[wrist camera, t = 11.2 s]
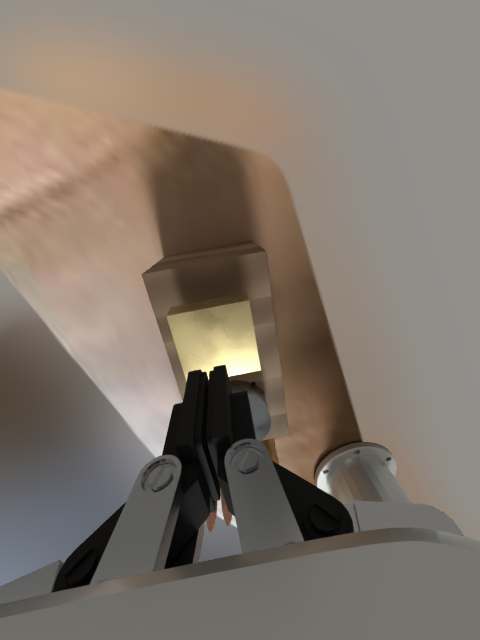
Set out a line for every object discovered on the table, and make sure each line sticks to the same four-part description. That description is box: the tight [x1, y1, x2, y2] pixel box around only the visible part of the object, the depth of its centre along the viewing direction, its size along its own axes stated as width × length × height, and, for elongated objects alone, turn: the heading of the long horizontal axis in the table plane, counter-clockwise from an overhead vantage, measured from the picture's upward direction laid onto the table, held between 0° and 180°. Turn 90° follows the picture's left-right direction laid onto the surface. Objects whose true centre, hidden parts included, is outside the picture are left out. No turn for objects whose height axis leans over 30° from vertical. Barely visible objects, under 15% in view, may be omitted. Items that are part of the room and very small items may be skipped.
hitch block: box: [142, 241, 289, 441], centre depth 25 cm, size 18×9×8 cm, turn 10°
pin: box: [230, 380, 271, 442], centre depth 25 cm, size 5×5×10 cm
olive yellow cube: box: [166, 293, 261, 381], centre depth 18 cm, size 5×5×5 cm
